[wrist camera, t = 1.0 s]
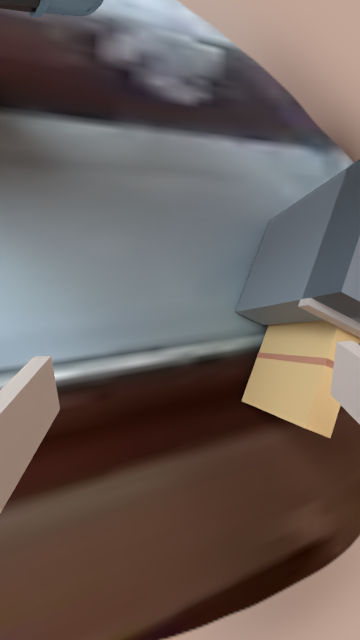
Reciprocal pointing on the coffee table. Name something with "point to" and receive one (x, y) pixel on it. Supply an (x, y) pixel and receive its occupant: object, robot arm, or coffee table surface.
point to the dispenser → (310, 260)
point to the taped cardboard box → (298, 374)
